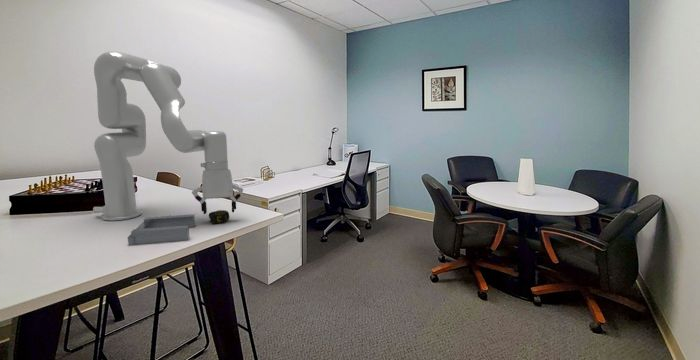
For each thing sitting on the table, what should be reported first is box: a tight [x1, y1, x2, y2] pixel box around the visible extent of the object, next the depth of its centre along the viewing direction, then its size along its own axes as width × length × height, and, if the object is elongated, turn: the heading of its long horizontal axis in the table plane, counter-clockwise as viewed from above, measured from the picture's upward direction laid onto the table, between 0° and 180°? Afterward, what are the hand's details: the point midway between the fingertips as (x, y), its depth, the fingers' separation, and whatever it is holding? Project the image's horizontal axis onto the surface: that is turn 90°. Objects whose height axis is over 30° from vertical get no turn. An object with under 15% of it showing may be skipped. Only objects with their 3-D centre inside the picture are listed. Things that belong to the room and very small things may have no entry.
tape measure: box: [208, 209, 230, 224], centre depth 119 cm, size 7×7×4 cm
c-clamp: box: [127, 214, 196, 246], centre depth 106 cm, size 16×18×4 cm
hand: (219, 212), depth 119 cm, fingers open, 9 cm apart
